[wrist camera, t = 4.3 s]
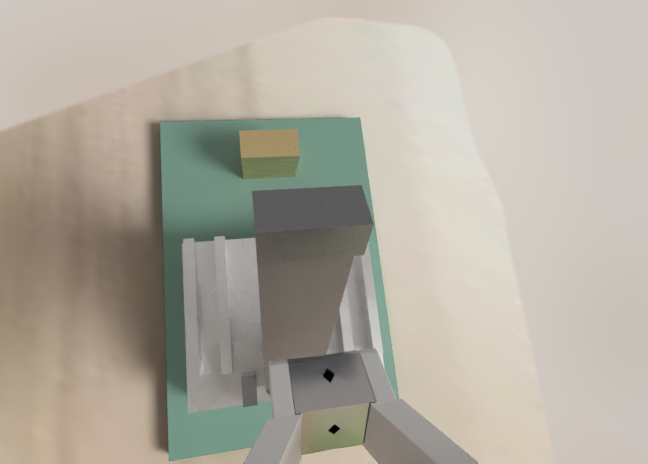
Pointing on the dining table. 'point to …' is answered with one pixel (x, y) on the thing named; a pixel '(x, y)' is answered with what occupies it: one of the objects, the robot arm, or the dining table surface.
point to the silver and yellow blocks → (254, 297)
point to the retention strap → (305, 264)
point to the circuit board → (238, 223)
